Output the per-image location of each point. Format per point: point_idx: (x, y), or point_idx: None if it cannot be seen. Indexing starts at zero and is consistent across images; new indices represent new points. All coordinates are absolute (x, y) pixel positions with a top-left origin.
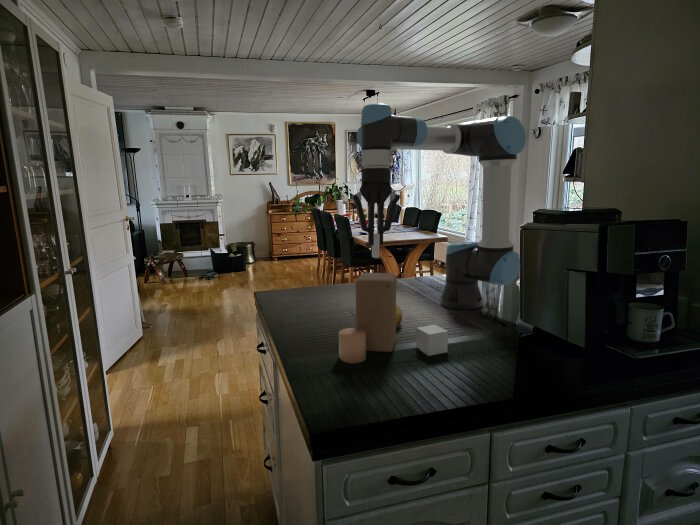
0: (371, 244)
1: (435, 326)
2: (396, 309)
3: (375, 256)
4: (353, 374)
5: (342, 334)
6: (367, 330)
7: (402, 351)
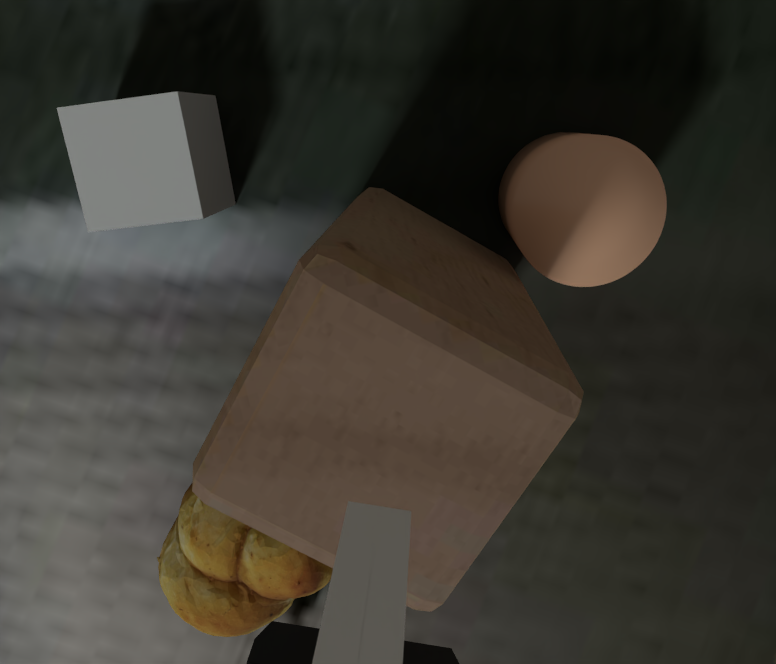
0: (429, 655)
1: (96, 200)
2: (198, 526)
3: (392, 519)
4: (630, 10)
5: (652, 200)
6: (477, 256)
7: (312, 188)
